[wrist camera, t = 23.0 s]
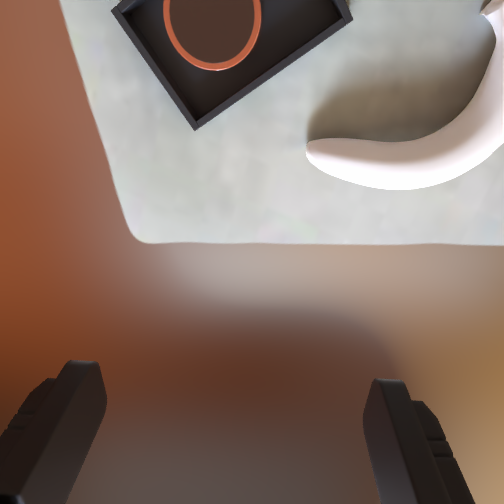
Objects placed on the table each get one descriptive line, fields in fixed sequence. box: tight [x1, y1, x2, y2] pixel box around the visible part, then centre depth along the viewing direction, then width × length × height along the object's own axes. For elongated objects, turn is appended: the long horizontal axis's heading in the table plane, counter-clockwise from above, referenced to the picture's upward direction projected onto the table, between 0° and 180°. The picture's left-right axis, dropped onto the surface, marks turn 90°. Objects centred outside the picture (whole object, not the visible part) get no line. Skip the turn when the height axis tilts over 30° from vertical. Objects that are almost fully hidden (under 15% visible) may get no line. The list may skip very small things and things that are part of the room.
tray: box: [111, 0, 353, 131], centre depth 29 cm, size 15×11×2 cm
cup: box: [163, 0, 264, 71], centre depth 25 cm, size 6×6×10 cm
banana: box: [306, 0, 504, 190], centre depth 31 cm, size 5×19×15 cm
